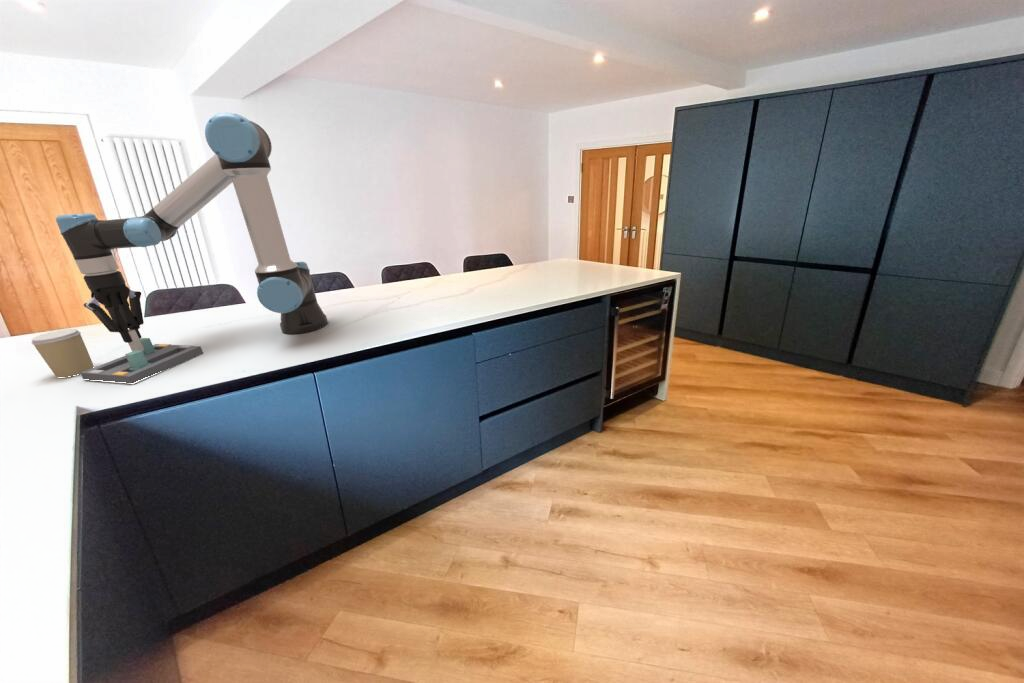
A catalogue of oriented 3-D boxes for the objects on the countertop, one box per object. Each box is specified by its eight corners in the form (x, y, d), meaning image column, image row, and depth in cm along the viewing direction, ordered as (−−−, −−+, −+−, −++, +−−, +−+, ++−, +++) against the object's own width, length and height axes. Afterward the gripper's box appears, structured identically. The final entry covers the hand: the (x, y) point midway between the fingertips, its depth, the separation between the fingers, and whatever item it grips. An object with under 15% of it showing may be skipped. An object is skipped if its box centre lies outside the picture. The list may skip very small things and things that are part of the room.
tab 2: (159, 353, 120) (152, 337, 118) (146, 358, 116) (138, 342, 114) (152, 353, 120) (144, 336, 118) (138, 358, 117) (130, 342, 115)
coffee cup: (74, 366, 117) (53, 329, 112) (106, 363, 117) (87, 327, 113) (42, 381, 108) (18, 342, 104) (77, 378, 109) (56, 339, 104)
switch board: (203, 353, 121) (200, 345, 120) (133, 384, 103) (129, 375, 102) (159, 351, 125) (155, 343, 124) (84, 380, 107) (79, 372, 106)
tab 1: (153, 367, 110) (145, 349, 108) (138, 373, 107) (129, 355, 105) (145, 366, 111) (137, 349, 109) (130, 372, 107) (121, 355, 105)
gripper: (118, 267, 113) (151, 341, 122) (61, 278, 101) (103, 359, 110) (137, 267, 111) (170, 342, 120) (82, 278, 100) (123, 360, 109)
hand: (138, 350), depth 115 cm, fingers closed
